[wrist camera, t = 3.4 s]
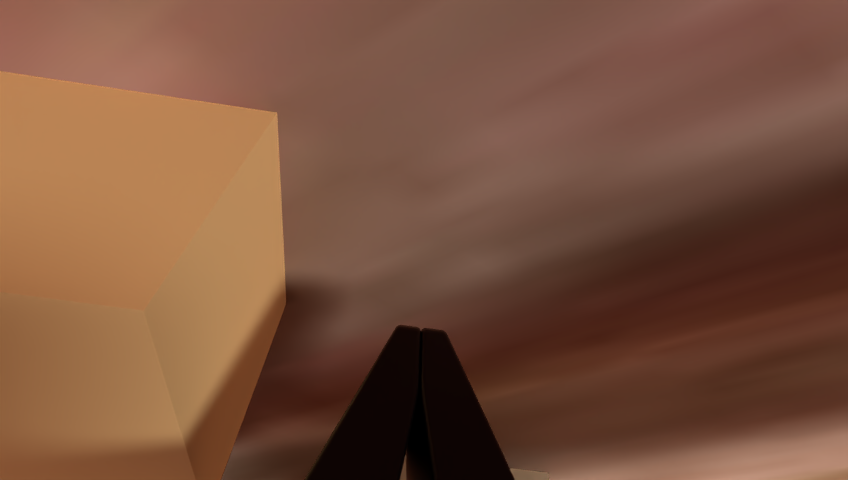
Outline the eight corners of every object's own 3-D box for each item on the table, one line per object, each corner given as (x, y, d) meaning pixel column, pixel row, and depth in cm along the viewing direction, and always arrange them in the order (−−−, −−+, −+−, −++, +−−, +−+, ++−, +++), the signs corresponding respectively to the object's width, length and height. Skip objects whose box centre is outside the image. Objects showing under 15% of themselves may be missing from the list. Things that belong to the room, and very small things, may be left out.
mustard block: (278, 110, 9) (143, 310, 5) (287, 301, 12) (207, 516, 8) (-4, 68, 9) (-369, 244, 5) (78, 274, 12) (-105, 481, 8)
